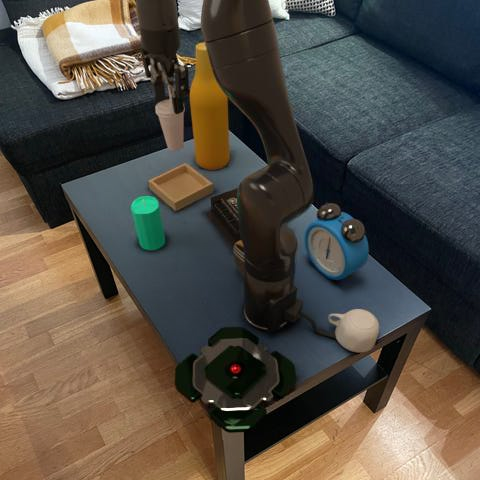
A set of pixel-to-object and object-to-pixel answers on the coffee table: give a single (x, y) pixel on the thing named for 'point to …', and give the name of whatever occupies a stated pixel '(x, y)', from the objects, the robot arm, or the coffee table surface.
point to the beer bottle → (209, 115)
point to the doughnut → (239, 256)
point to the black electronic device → (226, 216)
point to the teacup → (356, 330)
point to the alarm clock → (336, 242)
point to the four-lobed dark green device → (235, 378)
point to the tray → (180, 186)
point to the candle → (148, 222)
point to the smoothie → (171, 124)
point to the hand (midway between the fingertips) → (170, 106)
